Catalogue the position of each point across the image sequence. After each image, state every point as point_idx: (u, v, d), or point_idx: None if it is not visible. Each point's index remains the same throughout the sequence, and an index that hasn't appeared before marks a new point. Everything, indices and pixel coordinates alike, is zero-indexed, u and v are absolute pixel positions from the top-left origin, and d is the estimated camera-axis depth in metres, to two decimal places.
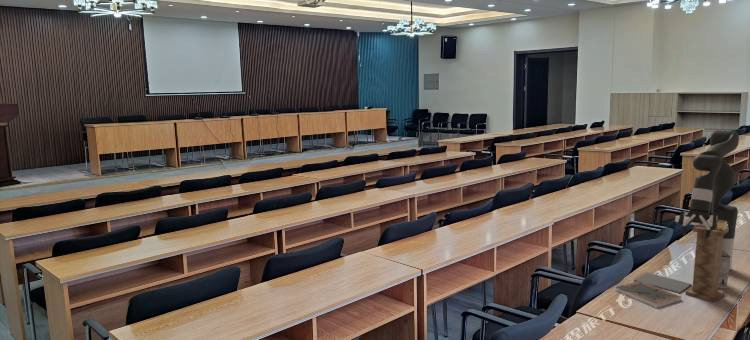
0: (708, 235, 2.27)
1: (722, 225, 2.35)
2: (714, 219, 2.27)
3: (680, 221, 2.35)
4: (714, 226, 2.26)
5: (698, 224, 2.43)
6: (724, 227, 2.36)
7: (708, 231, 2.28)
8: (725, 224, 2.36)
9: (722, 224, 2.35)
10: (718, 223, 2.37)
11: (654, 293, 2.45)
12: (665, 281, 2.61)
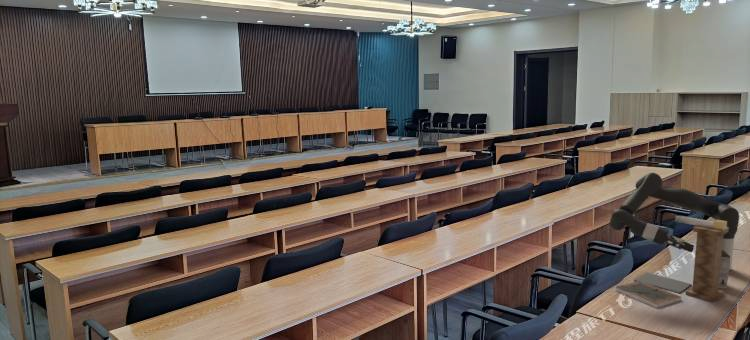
0: (688, 250, 2.37)
1: (722, 225, 2.35)
2: None
3: None
4: None
5: (698, 224, 2.43)
6: (724, 227, 2.36)
7: (684, 249, 2.38)
8: (725, 224, 2.36)
9: (722, 224, 2.35)
10: (718, 223, 2.37)
11: (654, 293, 2.45)
12: (665, 281, 2.61)
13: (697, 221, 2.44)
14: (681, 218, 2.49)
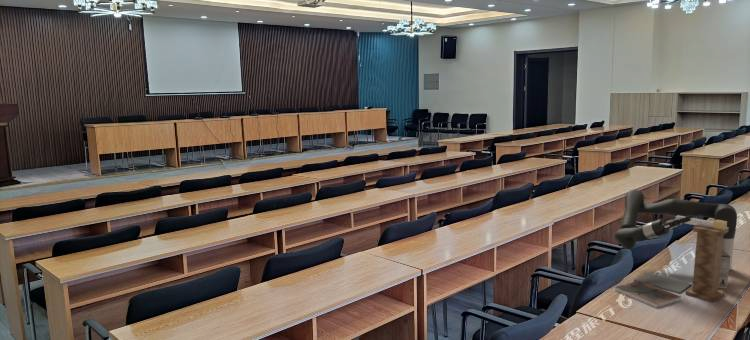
0: (686, 221, 2.46)
1: (722, 226, 2.35)
2: (670, 228, 2.49)
3: None
4: (676, 225, 2.48)
5: (698, 224, 2.43)
6: (724, 227, 2.36)
7: (683, 222, 2.48)
8: (725, 224, 2.36)
9: (722, 224, 2.35)
10: (718, 223, 2.37)
11: (653, 293, 2.45)
12: (665, 281, 2.61)
13: (697, 221, 2.44)
14: None
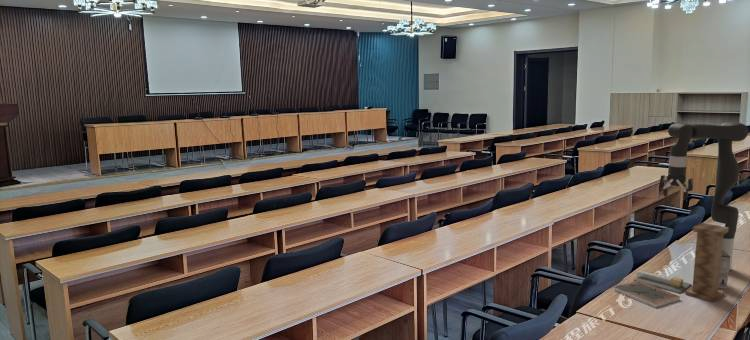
0: (685, 196, 2.58)
1: (678, 283, 2.53)
2: (689, 182, 2.55)
3: (661, 184, 2.65)
4: (689, 188, 2.55)
5: (657, 280, 2.61)
6: (680, 285, 2.53)
7: (685, 193, 2.58)
8: (681, 282, 2.54)
9: (678, 282, 2.53)
10: (675, 281, 2.54)
11: (652, 293, 2.46)
12: None
13: (656, 277, 2.61)
14: (642, 274, 2.66)
